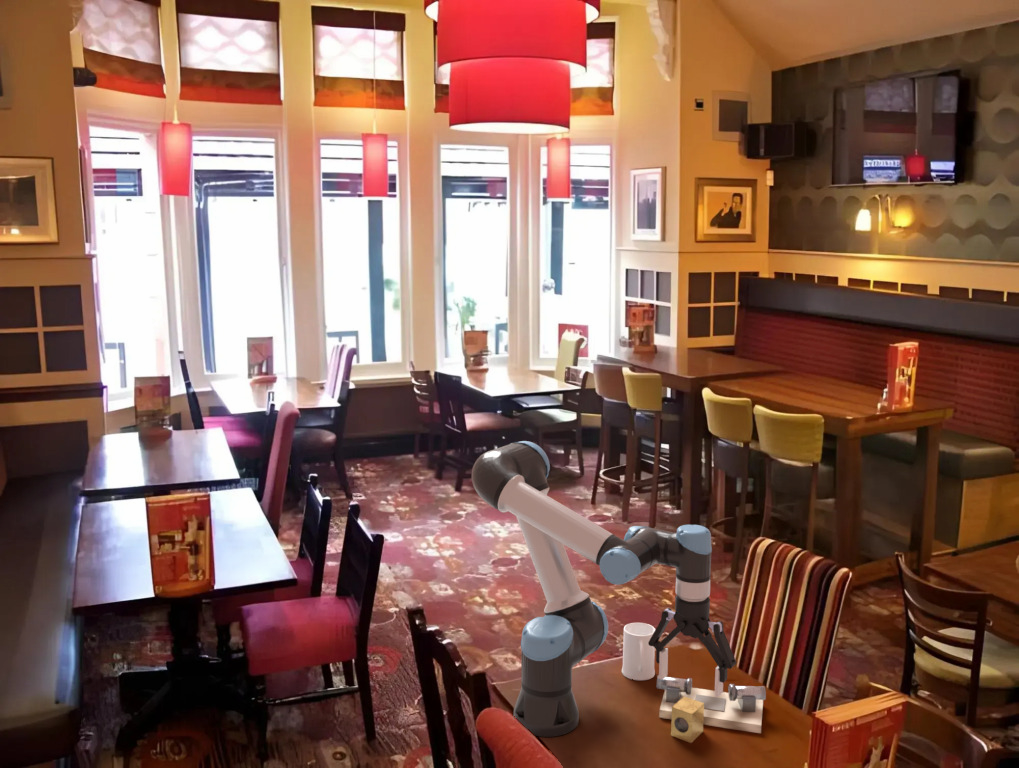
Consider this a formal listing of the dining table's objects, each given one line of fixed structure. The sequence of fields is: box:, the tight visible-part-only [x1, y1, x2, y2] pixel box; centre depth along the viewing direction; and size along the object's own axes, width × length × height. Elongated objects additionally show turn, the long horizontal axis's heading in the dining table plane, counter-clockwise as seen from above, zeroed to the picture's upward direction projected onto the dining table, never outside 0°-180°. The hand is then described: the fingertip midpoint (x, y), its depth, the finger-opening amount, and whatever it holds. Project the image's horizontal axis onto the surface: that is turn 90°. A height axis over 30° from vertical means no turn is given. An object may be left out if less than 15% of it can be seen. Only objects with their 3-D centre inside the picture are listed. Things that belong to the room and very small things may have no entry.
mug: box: [621, 622, 656, 681], centre depth 235 cm, size 12×8×12 cm
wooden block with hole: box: [670, 697, 704, 744], centre depth 208 cm, size 6×5×7 cm
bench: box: [658, 687, 764, 734], centre depth 218 cm, size 23×13×2 cm, turn 73°
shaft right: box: [727, 683, 767, 712], centre depth 217 cm, size 8×5×5 cm, turn 88°
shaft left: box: [656, 674, 693, 703], centre depth 220 cm, size 8×5×5 cm, turn 73°
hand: (690, 685), depth 207 cm, fingers open, 13 cm apart
